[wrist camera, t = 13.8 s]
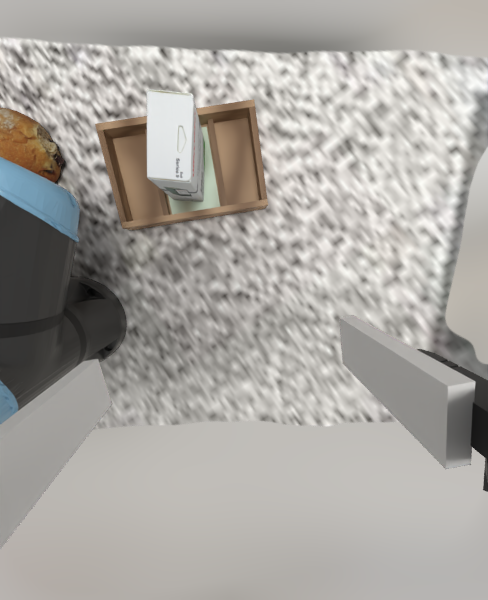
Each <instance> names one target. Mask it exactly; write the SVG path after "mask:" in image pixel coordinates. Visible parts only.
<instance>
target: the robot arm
mask: <svg viewBox="0 0 488 600" xmlns="http://www.w3.org/2000/svg"><path fill="white" fill-rule="evenodd" d="M79 214H80V209H79V205H78V202H77V201H76V199H75V198H74V196H73V195H72V194H71V193H70V192H68V191H67V190H66V189H64V188H62V187H61V186H59V185H57V184H55V183H53V182H51V181H49V180H48V179H46V178H44V177H42V176H40V175H38V174H36V173H33V172H31V171H29V170H27V169H25V168H23V167H21V166H19V165H17V164H15V163H13V162H10V161H8V160H6V159H4V158H2V157H0V549H1V548H2V547H3V545H4V544H5V543H6V541H7V540H8V539H9V538H10V536H11V535H12V534H13V532H14V531H15V530H16V529H17V527H18V526H19V525H20V523H21V522H22V521H23V519H24V518H25V517H26V516H27V514H28V513H29V512H30V510H31V509H32V508H33V506H34V505H35V504H36V503H37V501H38V500H39V499H40V497H41V496H42V494H43V493H44V492H45V491H46V489H47V488H48V487H49V486H50V484H51V483H52V482H53V480H54V479H55V478H56V477H57V475H58V474H59V472H60V471H61V470H62V469H63V467H64V466H65V465H66V463H67V462H68V461H69V459H70V458H71V457H72V456H73V454H74V453H75V452H76V450H77V449H78V448H79V447H80V445H81V444H82V443H83V441H84V440H85V439H86V437H87V436H88V435H89V434H90V432H91V431H92V430H93V428H94V427H95V426H96V424H97V423H98V422H99V421H100V419H101V418H102V417H103V415H104V414H105V413H106V411H107V410H108V409H109V408H110V406H111V405H112V401H111V398H110V395H109V392H108V389H107V386H106V382H105V379H104V376H103V373H102V370H101V367H100V364H99V362H101V361H103V360H105V359H106V358H107V357H109V356H110V355H111V354H112V353H113V352H114V351H115V350H116V349H117V348H118V347H119V346H120V344H121V343H122V341H123V339H124V336H125V332H126V317H125V313H124V310H123V307H122V305H121V304H120V302H119V300H118V299H117V298H116V296H115V295H114V294H113V293H112V292H111V291H110V290H109V289H107V288H106V287H105V286H103V285H102V284H100V283H98V282H96V281H93V280H90V279H87V278H82V277H70V276H71V270H72V265H73V260H74V254H75V249H76V243H78V242H79V238H78V236H77V234H78V223H79ZM339 321H340V334H341V347H342V360H343V364H344V365H345V366H346V367H347V368H348V369H349V370H350V371H351V372H352V374H353V375H354V376H355V377H356V378H357V379H358V380H359V381H360V382H361V383H362V384H363V385H364V386H365V387H366V388H367V389H368V390H369V391H370V392H371V393H372V394H373V395H374V396H375V397H376V398H377V399H378V400H379V401H380V402H381V403H382V404H383V405H384V406H385V407H386V408H387V409H388V410H389V411H390V413H391V414H392V415H393V416H394V417H395V418H396V419H397V420H398V421H399V422H400V423H401V424H402V425H403V426H404V427H405V428H406V429H407V430H408V431H409V432H410V433H411V434H412V435H413V436H414V437H415V438H416V439H417V440H418V441H419V442H420V443H421V444H422V445H423V446H424V447H425V448H426V449H427V450H428V452H429V453H430V454H431V455H433V456H434V458H435V459H436V460H437V461H438V462H439V463H440V464H441V465H442V466H443V467H444V468H445V469H449V468H455V467H460V466H465V465H471V453H472V447H473V448H474V449H475V450H477V451H478V452H479V453H480V454H481V455H483V456H484V457H485V458H486V459H485V473H484V487H483V490H485V491H488V380H486V379H484V378H482V377H480V376H478V375H476V374H474V373H472V372H470V371H468V370H466V369H464V368H462V367H458V365H457V364H455V363H453V362H451V361H448V360H447V359H445V358H443V357H441V356H439V355H437V354H435V353H432V352H428V351H425V350H422V349H415V348H413V347H411V346H409V345H407V344H405V343H404V342H402V341H400V340H398V339H396V338H394V337H393V336H391V335H389V334H387V333H385V332H383V331H382V330H380V329H378V328H376V327H374V326H372V325H370V324H369V323H367V322H365V321H363V320H361V319H359V318H358V317H356V316H354V315H351V316H345V317H339Z"/></svg>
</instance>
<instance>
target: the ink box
mask: <svg viewBox="0 0 488 600" xmlns="http://www.w3.org/2000/svg"><path fill="white" fill-rule="evenodd" d="M204 169H205V141H204V137H203V133H202V129H201V125H200V122H199V117H198V113H197V110H196V105H195V101H194V97H193V94H192V93H181V92H172V91H163V90H147V178H148V179H149V180H151V181H152V182H153V183H154V184H155V185H157V186H158V187H159V188H160V189H161V190H163V191H164V192H165V193H166V194H168V195H169V196H170V197H171V198H172V199H174V200H182V201H195V202H203V201H204Z"/></svg>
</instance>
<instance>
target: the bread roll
mask: <svg viewBox="0 0 488 600" xmlns="http://www.w3.org/2000/svg"><path fill="white" fill-rule="evenodd" d="M35 139H36V140H35ZM0 157H2V158H4V159H6V160H8V161H10V162H13V163H15V164H17V165H19V166H21V167H23V168H25V169H27V170H29V171H31V172H33V173H36V174H38V175H40V176H42V177H44V178H46V179H48V180H49V181H51V182H53V183H55V182H56V181H57V180H58V178H59V176H60V171H61V165H62V164H63V162H64V160H63V158H62V157H61V154H60V152H59V150H58V146H57V144H56V143H55V142H53V140H52V139H51V137H50V135H49V134H48V133H47V132H46V130H45V129H44V128H43V127H42V126H41V125H40V124H39V123H37V122H36V121H34V120H32V119H31V118H29V117H28V116H26V115H24V114H21V113H19V112H17V111H14V110H10V109H6V108H0Z"/></svg>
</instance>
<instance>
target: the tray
mask: <svg viewBox="0 0 488 600" xmlns="http://www.w3.org/2000/svg"><path fill="white" fill-rule="evenodd" d="M196 110H197V113H198V117H199V122H200V125H201V129H202V133H203V137H204V141H205V169H204V201H203V202H195V201H182V200H174V199H172V198H171V197H170V196H169V195H168V194H166V193H165V192H164V191H163V190H161V189H160V188H159V187H158V186H157V185H155V184H154V183H153V182H152V181H151V180H149V179H148V178H147V116H144V117H138V118H131V119H125V120H118V121H112V122H105V123H99V124H95V125H96V129H97V133H98V137H99V140H100V144H101V148H102V152H103V156H104V160H105V163H106V167H107V171H108V175H109V179H110V183H111V186H112V190H113V194H114V198H115V202H116V206H117V209H118V213H119V217H120V221H121V225H122V228H123V229H128V230H137V229H143V228H149V227H155V226H161V225H168V224H174V223H180V222H186V221H192V220H198V219H205V218H211V217H217V216H223V215H229V214H235V213H241V212H248V211H254V210H260V209H265V208H266V206H267V205H268V202H267V195H266V187H265V179H264V172H263V164H262V156H261V149H260V141H259V134H258V126H257V118H256V111H255V103H254V100H248V101H241V102H235V103H228V104H222V105H215V106H209V107H203V108H196Z"/></svg>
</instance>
